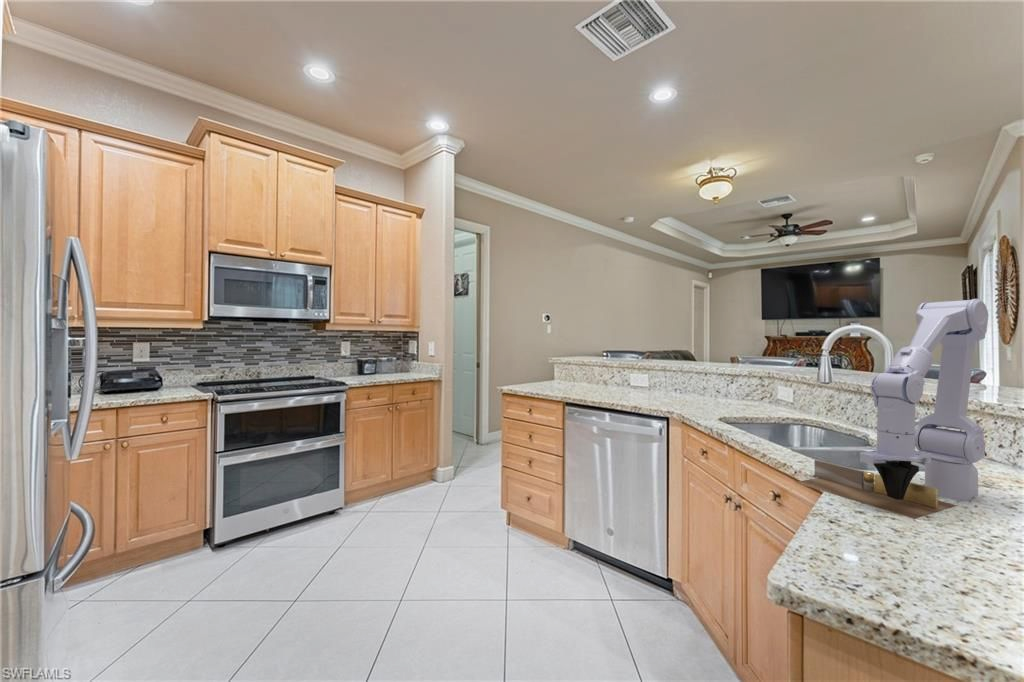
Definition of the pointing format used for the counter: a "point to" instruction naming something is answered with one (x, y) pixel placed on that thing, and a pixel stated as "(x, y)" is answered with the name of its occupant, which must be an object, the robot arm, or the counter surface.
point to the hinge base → (864, 490)
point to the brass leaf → (908, 491)
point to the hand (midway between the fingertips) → (895, 497)
